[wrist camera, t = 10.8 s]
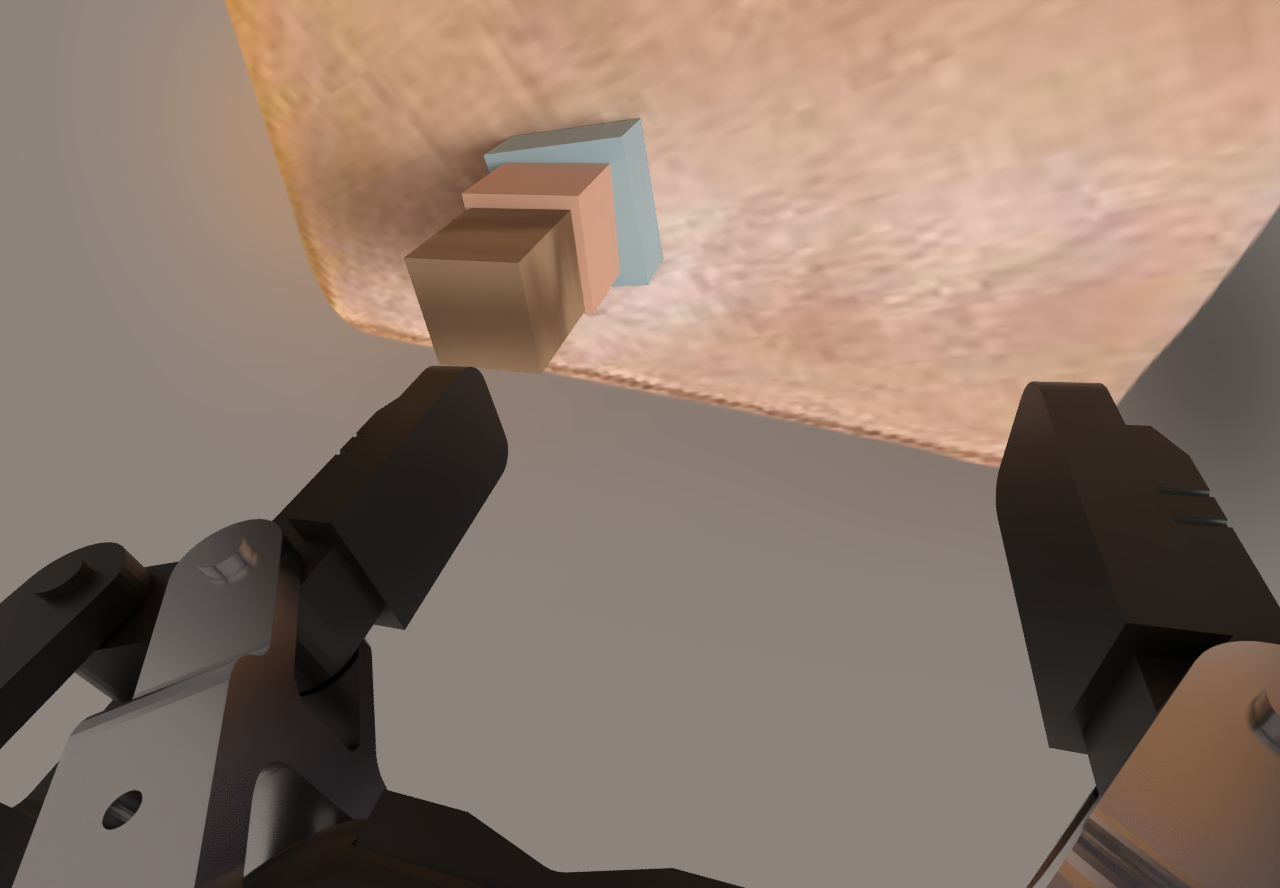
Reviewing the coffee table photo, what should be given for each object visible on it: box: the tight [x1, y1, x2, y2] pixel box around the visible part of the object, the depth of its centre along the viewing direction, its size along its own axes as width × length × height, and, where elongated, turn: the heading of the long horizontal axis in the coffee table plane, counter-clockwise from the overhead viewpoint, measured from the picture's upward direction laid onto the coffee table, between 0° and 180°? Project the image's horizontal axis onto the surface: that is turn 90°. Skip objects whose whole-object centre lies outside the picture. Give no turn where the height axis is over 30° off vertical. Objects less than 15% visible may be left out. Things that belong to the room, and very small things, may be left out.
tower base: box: [484, 118, 663, 287], centre depth 36 cm, size 8×8×4 cm
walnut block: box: [404, 208, 585, 374], centre depth 28 cm, size 5×5×6 cm
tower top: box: [461, 163, 620, 314], centre depth 32 cm, size 6×6×5 cm
